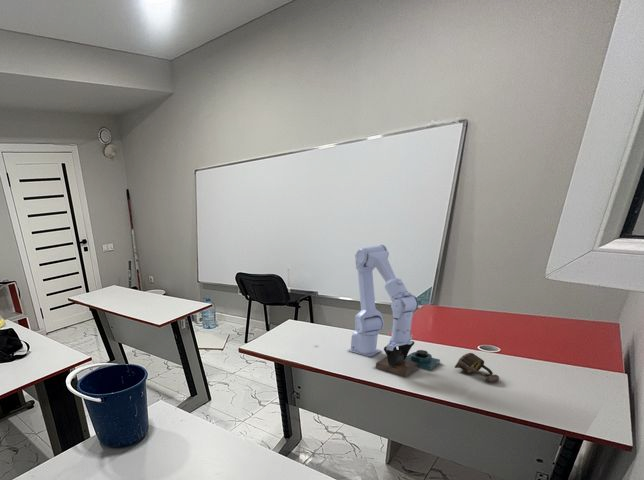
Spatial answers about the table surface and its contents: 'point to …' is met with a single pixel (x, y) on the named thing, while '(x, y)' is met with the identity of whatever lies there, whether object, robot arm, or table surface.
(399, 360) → the dial knob
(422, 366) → the button box
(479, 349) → the table surface
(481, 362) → the mechanical counter
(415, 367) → the dial panel
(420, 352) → the button
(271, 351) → the table surface
